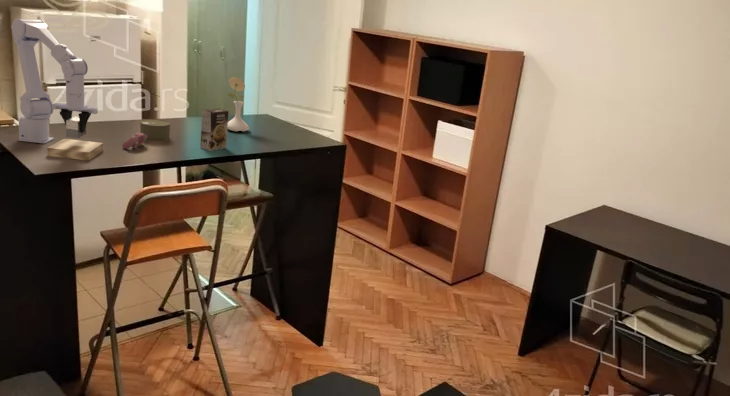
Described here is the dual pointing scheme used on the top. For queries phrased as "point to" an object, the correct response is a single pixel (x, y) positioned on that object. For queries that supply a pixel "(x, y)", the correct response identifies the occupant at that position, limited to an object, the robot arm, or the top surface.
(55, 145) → the birch stand
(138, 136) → the pink toy
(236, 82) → the flower in vase
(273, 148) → the top surface
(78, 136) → the two-plate housing
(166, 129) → the can
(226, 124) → the coffee box
